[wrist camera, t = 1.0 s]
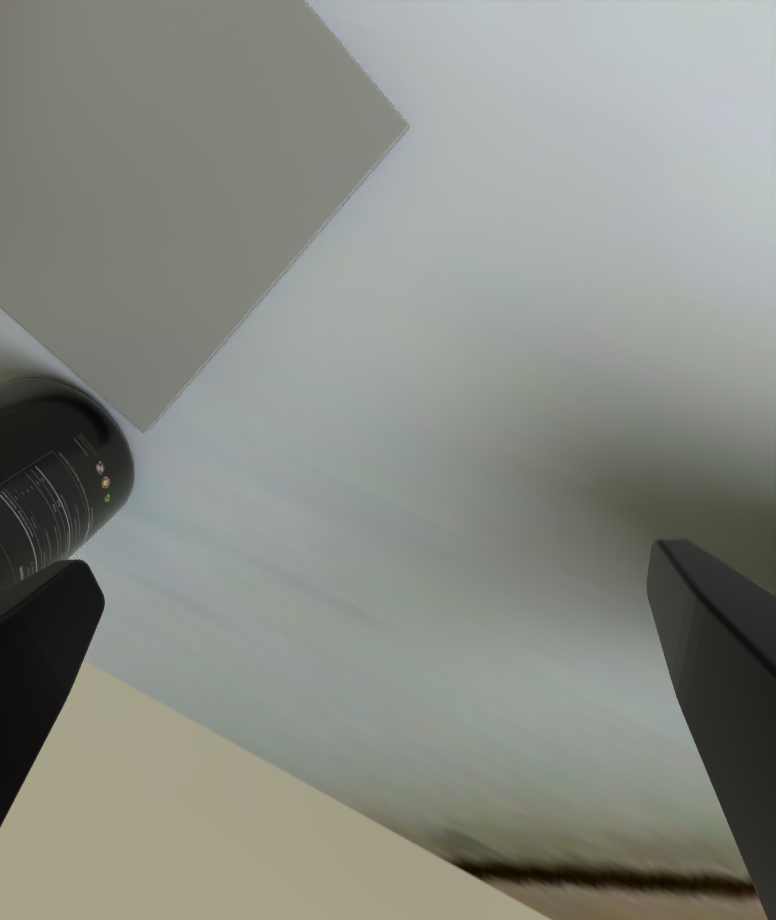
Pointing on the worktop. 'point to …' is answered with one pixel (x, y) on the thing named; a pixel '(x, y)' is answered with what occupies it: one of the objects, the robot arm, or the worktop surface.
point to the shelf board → (168, 175)
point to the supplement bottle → (55, 474)
